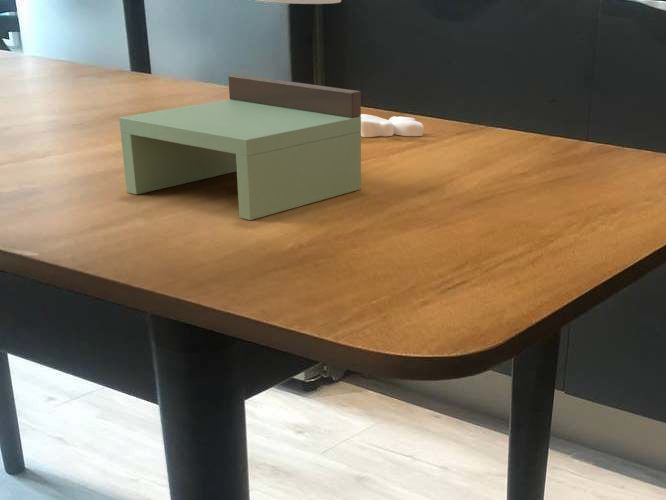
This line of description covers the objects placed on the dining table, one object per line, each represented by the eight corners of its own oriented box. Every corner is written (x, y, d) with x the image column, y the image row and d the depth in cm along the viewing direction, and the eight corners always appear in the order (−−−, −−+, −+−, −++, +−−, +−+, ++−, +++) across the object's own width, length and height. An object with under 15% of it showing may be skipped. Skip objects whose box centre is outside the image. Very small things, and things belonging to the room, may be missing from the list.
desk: (250, 220, 84) (245, 111, 80) (126, 192, 91) (115, 90, 87) (361, 189, 94) (361, 91, 90) (242, 166, 101) (237, 74, 97)
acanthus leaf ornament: (423, 137, 116) (424, 118, 115) (364, 141, 114) (364, 122, 113) (396, 124, 122) (397, 106, 121) (339, 127, 119) (339, 109, 119)
